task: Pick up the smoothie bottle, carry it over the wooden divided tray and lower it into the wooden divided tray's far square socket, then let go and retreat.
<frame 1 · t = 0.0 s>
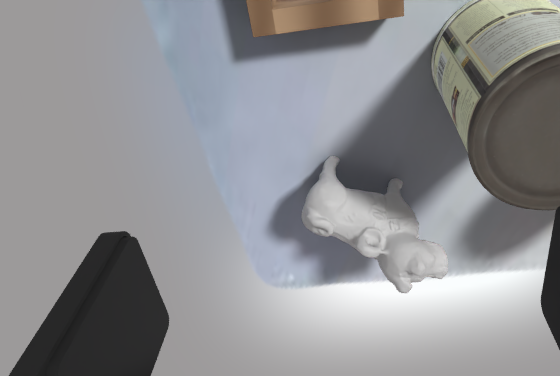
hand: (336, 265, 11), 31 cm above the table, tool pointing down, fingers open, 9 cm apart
dog figurine: (367, 189, 47), on the table
coffee can: (496, 54, 39), on the table
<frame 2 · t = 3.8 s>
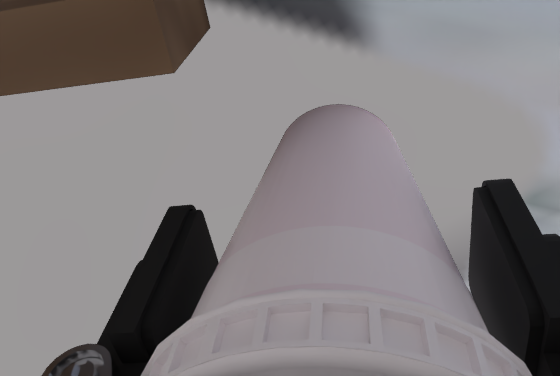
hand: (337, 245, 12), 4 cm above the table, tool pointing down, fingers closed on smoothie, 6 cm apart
smoothie: (337, 156, 15), on the table, touching gripper
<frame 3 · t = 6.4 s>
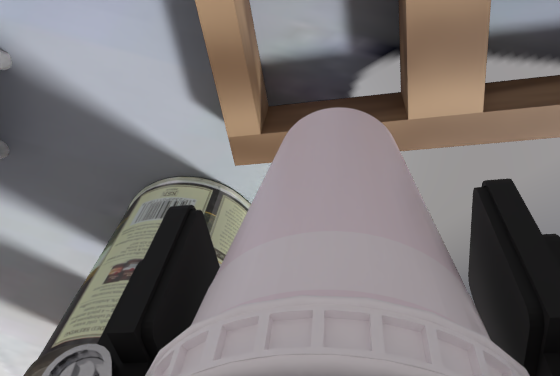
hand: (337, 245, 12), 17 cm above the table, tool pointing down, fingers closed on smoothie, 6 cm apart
smoothie: (338, 159, 15), point 13 cm above the table, touching gripper
wooden divided tray: (434, 19, 25), on the table
coffee can: (198, 234, 34), on the table
when the fingers open (5 cm above the table, at t = 9.2 s): smoothie stays where it is, resting in wooden divided tray.
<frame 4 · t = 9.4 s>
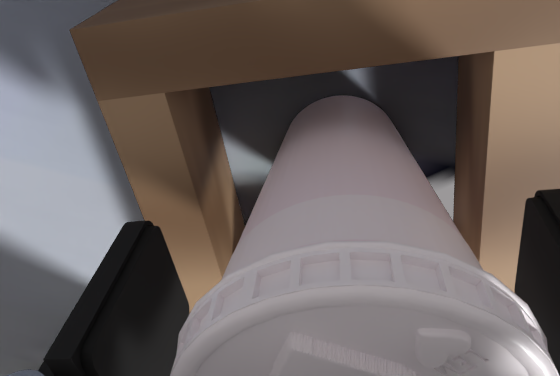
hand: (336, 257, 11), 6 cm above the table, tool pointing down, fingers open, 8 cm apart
smoothie: (340, 145, 16), resting in wooden divided tray
wooden divided tray: (515, 127, 15), on the table
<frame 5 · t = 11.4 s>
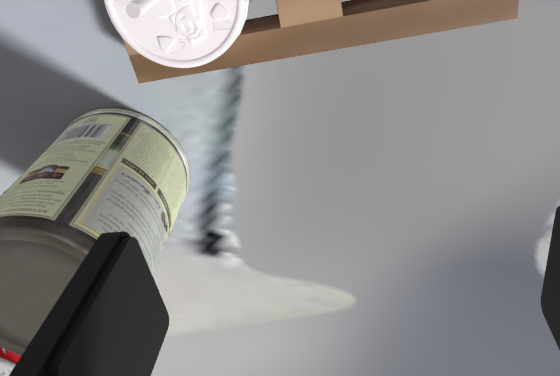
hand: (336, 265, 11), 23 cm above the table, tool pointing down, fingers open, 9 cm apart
soda can: (70, 265, 44), on the table
coffee can: (127, 167, 38), on the table
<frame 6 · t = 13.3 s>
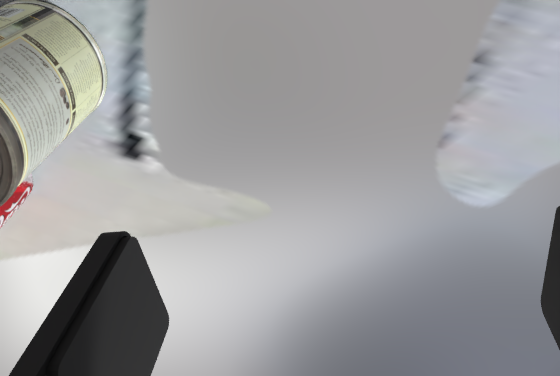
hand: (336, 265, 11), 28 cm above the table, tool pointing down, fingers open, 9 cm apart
soda can: (3, 166, 46), on the table
coffee can: (48, 63, 40), on the table
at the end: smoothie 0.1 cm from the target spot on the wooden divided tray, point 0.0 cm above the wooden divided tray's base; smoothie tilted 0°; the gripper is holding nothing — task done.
